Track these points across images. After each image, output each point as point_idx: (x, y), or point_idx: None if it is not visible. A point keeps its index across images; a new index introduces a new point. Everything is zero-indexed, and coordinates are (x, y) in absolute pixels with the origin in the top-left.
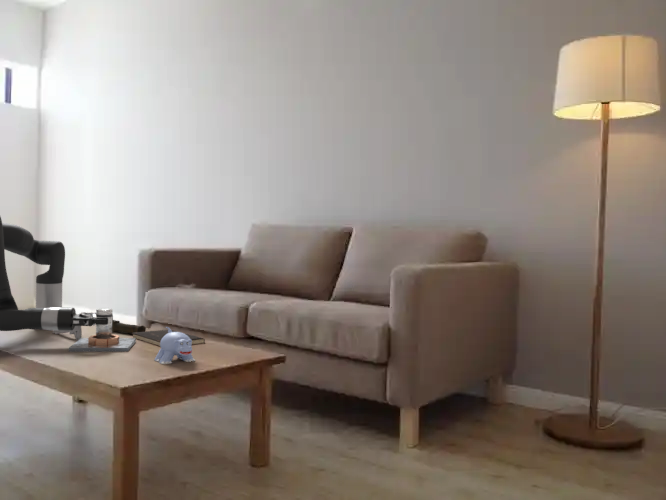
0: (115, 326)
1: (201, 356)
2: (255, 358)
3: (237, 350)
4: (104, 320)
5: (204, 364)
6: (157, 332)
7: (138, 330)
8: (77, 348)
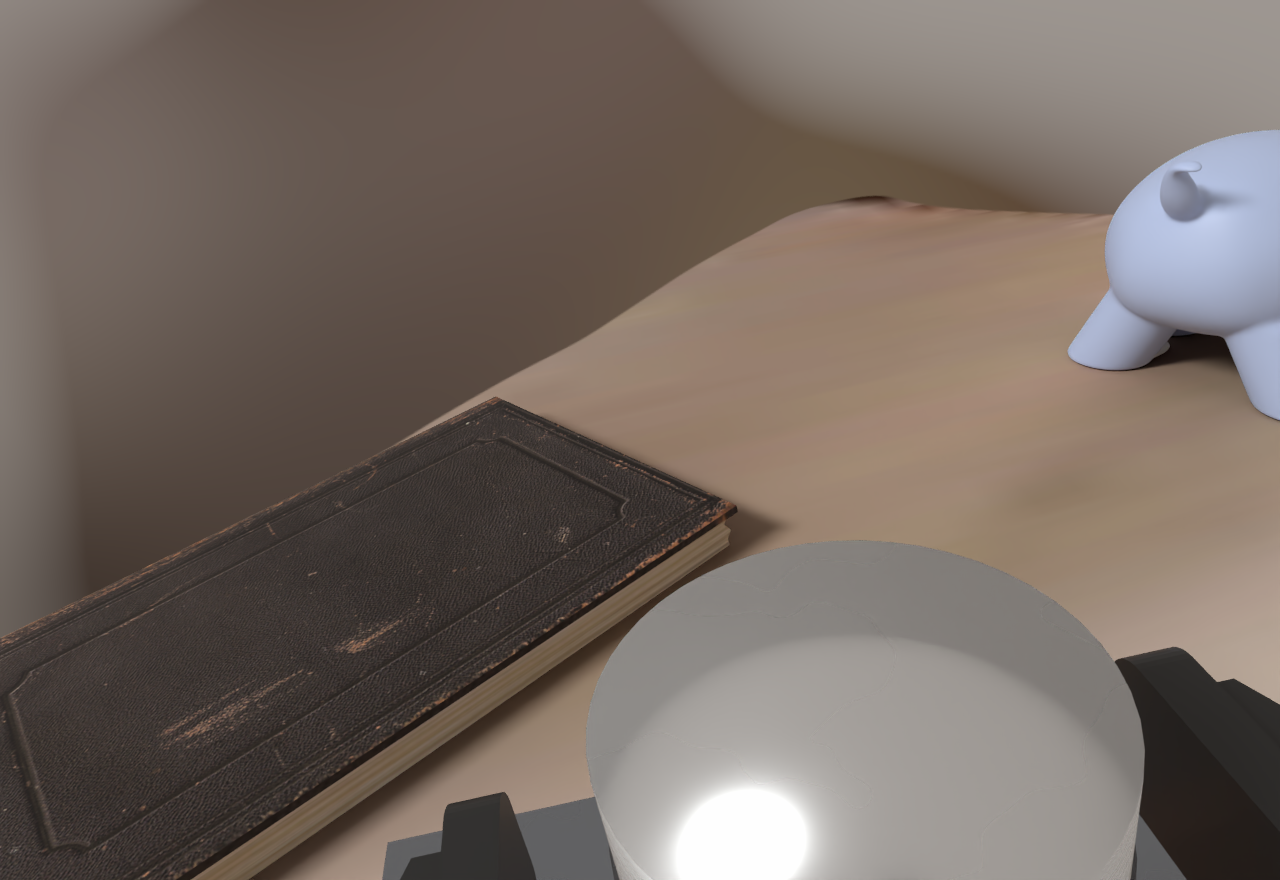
0: None
1: (993, 323)
2: (922, 220)
3: (738, 289)
4: (1259, 717)
5: None
6: (100, 715)
7: None
8: None
